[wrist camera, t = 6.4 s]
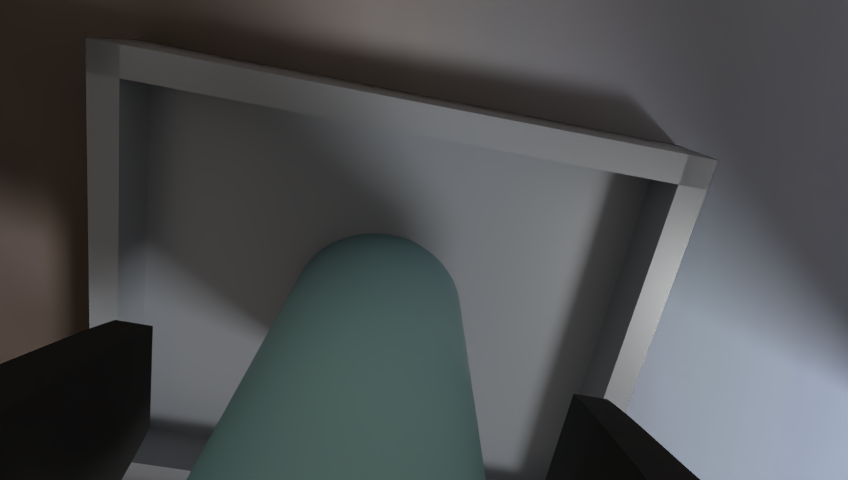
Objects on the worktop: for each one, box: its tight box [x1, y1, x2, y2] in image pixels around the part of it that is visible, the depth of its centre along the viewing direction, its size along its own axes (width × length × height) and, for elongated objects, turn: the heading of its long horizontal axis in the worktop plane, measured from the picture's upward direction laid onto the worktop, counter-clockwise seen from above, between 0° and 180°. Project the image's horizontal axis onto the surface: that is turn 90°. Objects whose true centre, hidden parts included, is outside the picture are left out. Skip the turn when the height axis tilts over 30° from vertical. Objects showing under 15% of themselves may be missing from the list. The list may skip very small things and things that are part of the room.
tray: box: [85, 38, 718, 480], centre depth 13 cm, size 12×10×2 cm
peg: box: [186, 233, 486, 480], centre depth 9 cm, size 4×4×8 cm
